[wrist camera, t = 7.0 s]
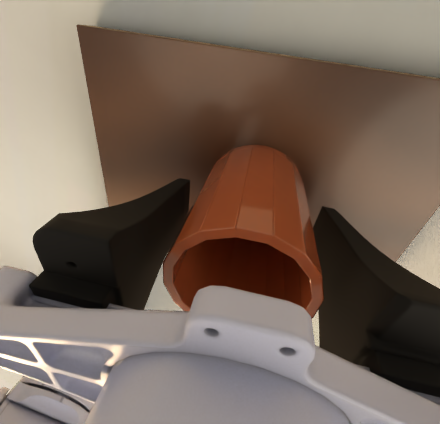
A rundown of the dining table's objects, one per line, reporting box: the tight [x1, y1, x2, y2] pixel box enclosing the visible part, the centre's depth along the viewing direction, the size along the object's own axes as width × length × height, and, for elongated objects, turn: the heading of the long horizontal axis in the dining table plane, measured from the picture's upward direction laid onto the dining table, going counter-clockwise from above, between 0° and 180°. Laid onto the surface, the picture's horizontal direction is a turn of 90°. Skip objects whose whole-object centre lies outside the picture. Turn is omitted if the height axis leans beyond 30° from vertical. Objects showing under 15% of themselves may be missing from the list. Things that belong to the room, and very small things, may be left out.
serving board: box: [77, 25, 440, 262], centre depth 15 cm, size 14×20×2 cm
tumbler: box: [163, 145, 324, 319], centre depth 12 cm, size 6×6×8 cm
